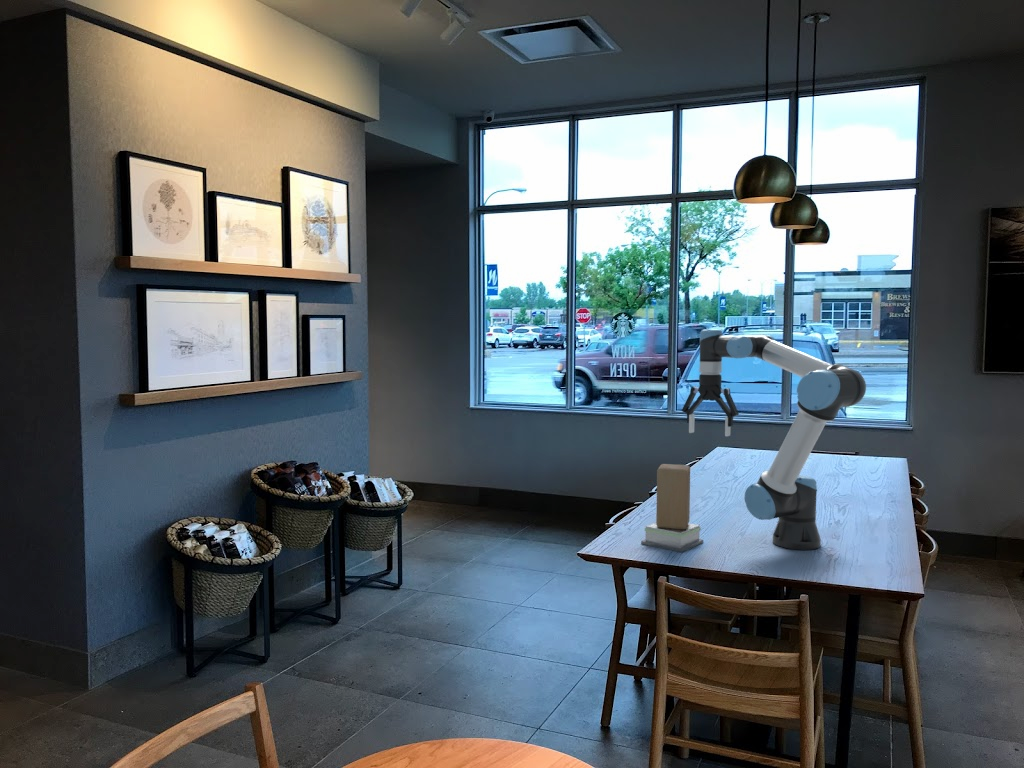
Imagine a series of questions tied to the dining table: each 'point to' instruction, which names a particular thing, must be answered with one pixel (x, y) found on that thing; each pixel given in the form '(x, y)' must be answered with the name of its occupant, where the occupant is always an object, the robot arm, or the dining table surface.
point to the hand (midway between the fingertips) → (709, 434)
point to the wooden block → (673, 496)
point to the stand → (672, 537)
